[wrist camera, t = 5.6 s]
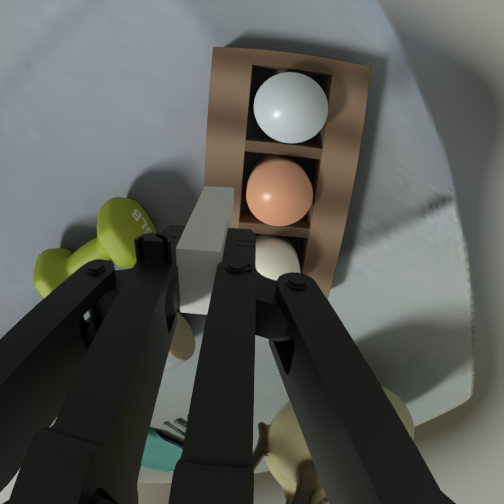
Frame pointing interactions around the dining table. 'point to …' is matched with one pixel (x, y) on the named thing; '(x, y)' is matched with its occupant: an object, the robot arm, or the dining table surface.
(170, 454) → the cutlery set
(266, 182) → the terracotta button
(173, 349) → the ceramic mug
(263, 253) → the cream button
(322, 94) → the grey button
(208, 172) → the wooden compartment tray
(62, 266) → the dumbbell
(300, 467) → the pitcher
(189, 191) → the dining table surface
